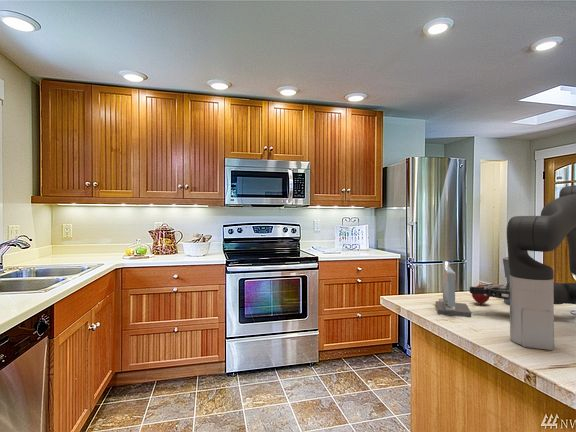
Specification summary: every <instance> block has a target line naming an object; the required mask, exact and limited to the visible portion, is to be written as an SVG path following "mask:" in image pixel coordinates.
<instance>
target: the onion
mask: <svg viewBox="0 0 576 432" xmlns="http://www.w3.org/2000/svg"><path fill="white" fill-rule="evenodd" d="M481 285H483V283H481V282H479V283H478V285H476V287H481ZM471 297H472V298H473V300H474V301H475V302H476V303H478V305H483V304H485V303H487V302H488V301H489V300H490V297H489V296H488V295H486V296H485V295H483V294H471Z"/></svg>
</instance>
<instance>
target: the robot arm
mask: <svg viewBox="0 0 576 432" xmlns="http://www.w3.org/2000/svg"><path fill="white" fill-rule="evenodd" d="M565 238H566V241H567V247H568V248H567V249H568V263H569V271H570V273H571V274H572V275H574V276H576V184H573V185H568V186H564V187H562V188H561V189H560V190H559V194H558V197H557V198H555V199H552V200H551V201H550V202H548V203H547V204H546V205H545V206H543V207H542V210H541V212H540V215H518V216H517V215H516V216H512V217H511V218H510V219H509V220H508V223H507V226H506V246H507V247H506V248H507V257H508V264H509V269H510V282H509V283H508V285H507V286H506V285H504V284H493V283H488V284H482V285H481V287H477V286H469V293H470V294H471V295H472V294H483V295H485V296H486V295H488V296H489V298H496V299H502V300H504V299H506V300H507V299H510V305H509V329H510V330H509V332H510V333H509V338H510V339H509V340H511V342H513V343H515V344H518V345H520V346H522V347H524V348H530V349H539V350H548V351H553V350H554V349H553V348H555V318H554V317H555V313H554V310H555V305H564V304H565V305H567V304H568V305H576V282H563V283H561V282H560V283H558V282H554V275H555V274H554V273H555V272H554V270H553V267H551V266H550V265H547V264H545V263H542V262H539V261H537V260H536V259H534V258H533V257H532V256H531V255H529V252H538V253H539V252H540V253H542V252H543V253H545V252H546V253H547V252H548V253H549V252H552V251H555V250H556V249H557V248H559V246H560V245H561V244H562V243H563V241H564V239H565Z"/></svg>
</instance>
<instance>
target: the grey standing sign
mask: <svg viewBox="0 0 576 432" xmlns="http://www.w3.org/2000/svg"><path fill="white" fill-rule="evenodd" d="M456 277H457V274H456V272H455V271H454V270H453V268H452V267H451V266H444V297H445V299H446V301H447V304H448V306H452V307H455V303H456V283H457V279H456Z"/></svg>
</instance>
